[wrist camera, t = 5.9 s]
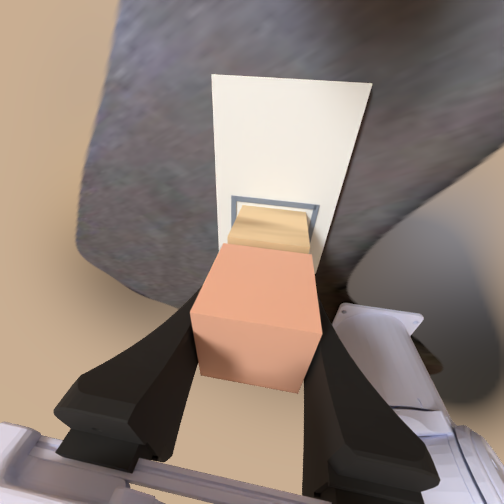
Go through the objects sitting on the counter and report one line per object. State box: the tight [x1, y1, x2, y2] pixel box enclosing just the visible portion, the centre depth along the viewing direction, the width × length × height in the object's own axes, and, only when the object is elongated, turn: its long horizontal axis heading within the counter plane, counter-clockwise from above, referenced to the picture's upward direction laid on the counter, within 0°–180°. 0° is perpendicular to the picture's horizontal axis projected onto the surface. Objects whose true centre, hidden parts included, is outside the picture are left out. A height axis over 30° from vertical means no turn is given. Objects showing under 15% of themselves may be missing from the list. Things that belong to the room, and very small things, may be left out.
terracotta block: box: [190, 243, 322, 394], centre depth 12 cm, size 5×5×5 cm
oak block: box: [227, 205, 310, 254], centre depth 16 cm, size 5×5×5 cm
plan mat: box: [212, 74, 373, 274], centre depth 17 cm, size 14×9×1 cm, turn 177°
